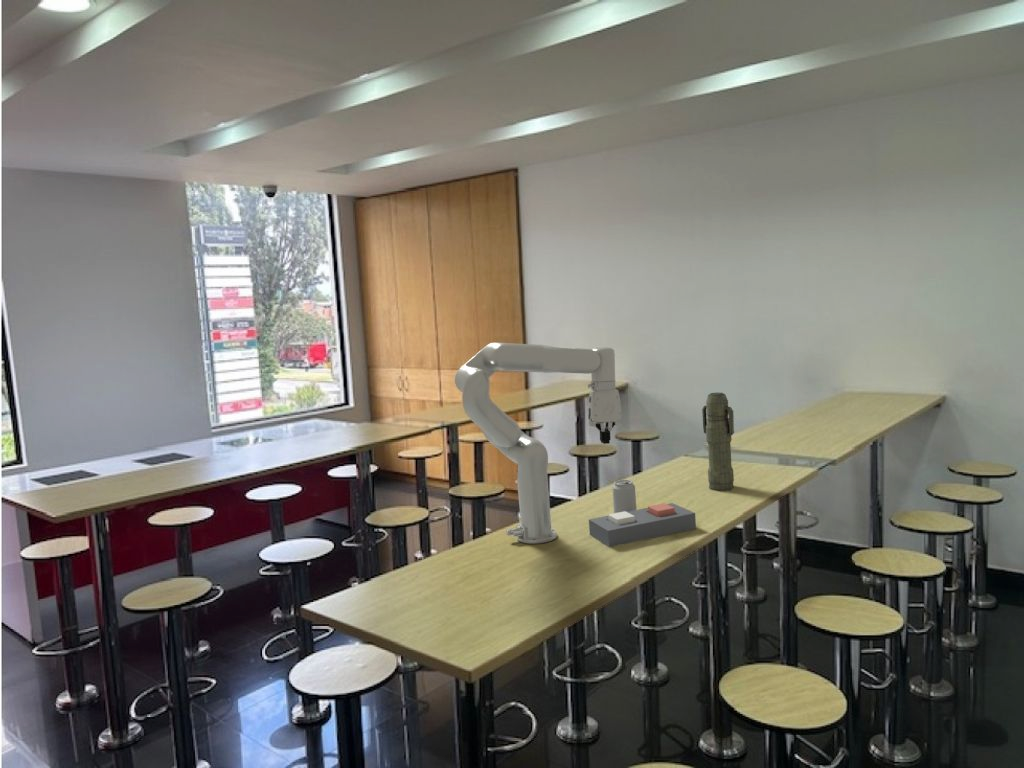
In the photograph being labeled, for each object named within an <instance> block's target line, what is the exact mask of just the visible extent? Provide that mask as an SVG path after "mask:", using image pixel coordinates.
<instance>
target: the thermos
mask: <svg viewBox="0 0 1024 768" xmlns="http://www.w3.org/2000/svg"><path fill="white" fill-rule="evenodd" d="M705 403H706V404H705V405H704V406H703V408H702V411H701V413H702V414H701V415H702V427H703V428H702V429H703V434H705V436H706V439H705V440H706V443H707V452H708V468H707V476H708V477H707V480H708V485H709V486H708V488H709V489H710V490H711V491H716V492H717V491H718V492H724V491H731V490H734V488H735V486H734V482H735V481H734V480H735V479H734V478H735V477H734V468H733V466H732V452H731V450H732V449H731V448H732V447H731V446H732V445H731V442H732V440H733V439H732V436H733V434H735V428H734V427H735V426H734V425H735V423H734V419H735V418H734V417H735V416H734V410H733V408H732V407H731V406H729V400H728V398H727V395H726V393H723V392H711V393H709V394H708V395H707V398H706V402H705Z"/></svg>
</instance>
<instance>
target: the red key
mask: <svg viewBox="0 0 1024 768" xmlns="http://www.w3.org/2000/svg"><path fill="white" fill-rule="evenodd" d="M667 504H668V503H665V502H663V503H659V504H653V505H648V506H647V508H648V513H650V514H652V515H654V516H656V517H660V516H665V515H670V514H675V508H674V507H672V506H669V505H667Z"/></svg>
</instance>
